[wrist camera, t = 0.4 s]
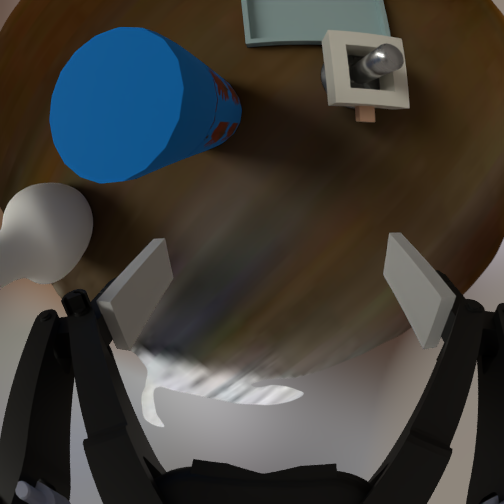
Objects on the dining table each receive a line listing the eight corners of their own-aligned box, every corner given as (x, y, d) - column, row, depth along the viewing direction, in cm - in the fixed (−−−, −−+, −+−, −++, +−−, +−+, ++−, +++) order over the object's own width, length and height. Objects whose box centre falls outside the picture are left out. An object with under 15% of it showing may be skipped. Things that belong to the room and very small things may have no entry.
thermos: (227, 66, 33) (155, -5, 10) (254, 132, 37) (216, 140, 14) (160, 97, 35) (35, 86, 13) (185, 159, 39) (78, 210, 17)
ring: (321, 41, 27) (327, 29, 22) (387, 47, 26) (401, 38, 21) (329, 120, 31) (337, 120, 27) (394, 123, 30) (410, 124, 26)
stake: (317, 49, 30) (337, 11, 17) (377, 53, 29) (423, 25, 16) (323, 107, 34) (349, 97, 21) (383, 110, 33) (434, 107, 20)
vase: (87, 270, 50) (-23, 393, 18) (36, 221, 46) (-83, 310, 15) (118, 208, 43) (-44, 340, 12) (59, 156, 40) (-103, 228, 8)
